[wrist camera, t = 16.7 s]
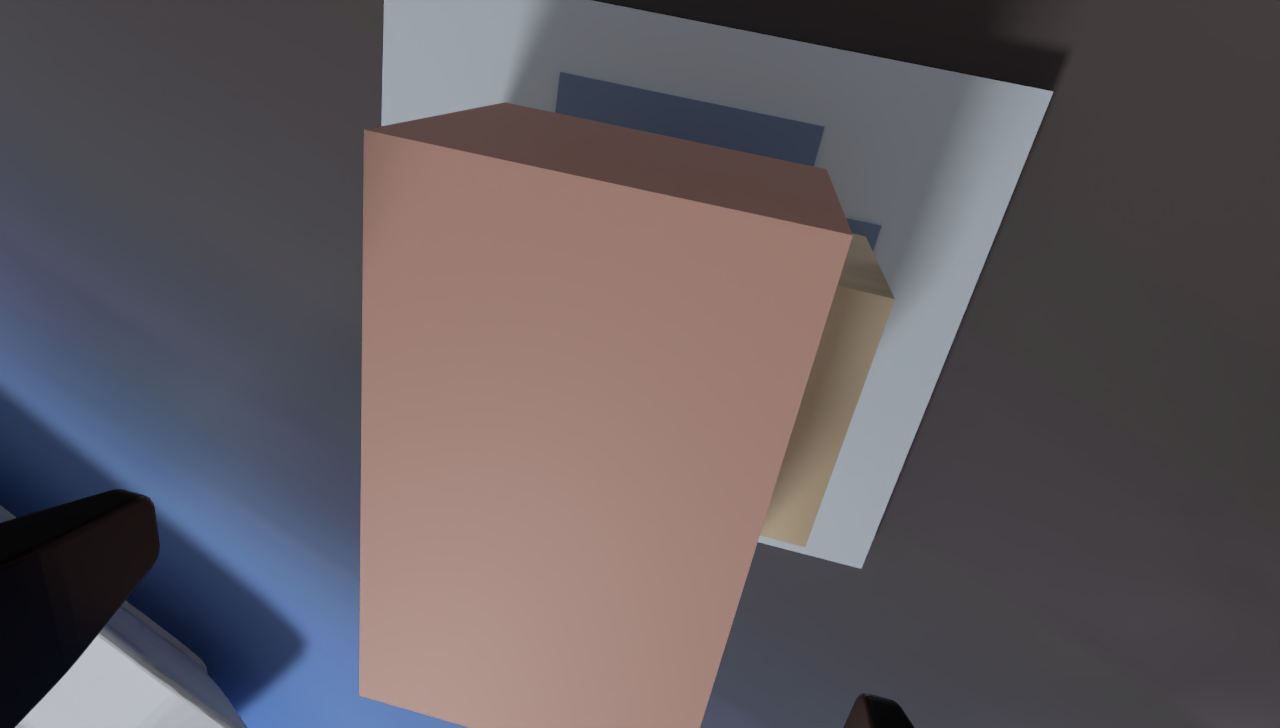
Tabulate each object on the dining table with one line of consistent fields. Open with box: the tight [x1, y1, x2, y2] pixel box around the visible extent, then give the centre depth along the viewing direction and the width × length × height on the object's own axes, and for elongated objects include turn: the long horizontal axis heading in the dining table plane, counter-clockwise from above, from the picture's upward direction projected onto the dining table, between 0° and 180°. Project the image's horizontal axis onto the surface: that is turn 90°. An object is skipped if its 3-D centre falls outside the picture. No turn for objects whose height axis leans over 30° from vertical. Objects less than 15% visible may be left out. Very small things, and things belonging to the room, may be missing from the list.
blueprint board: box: [381, 0, 1053, 569], centre depth 20 cm, size 16×14×1 cm
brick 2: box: [760, 233, 895, 547], centre depth 17 cm, size 10×6×5 cm, turn 79°
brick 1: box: [359, 102, 853, 728], centre depth 13 cm, size 10×6×5 cm, turn 170°
